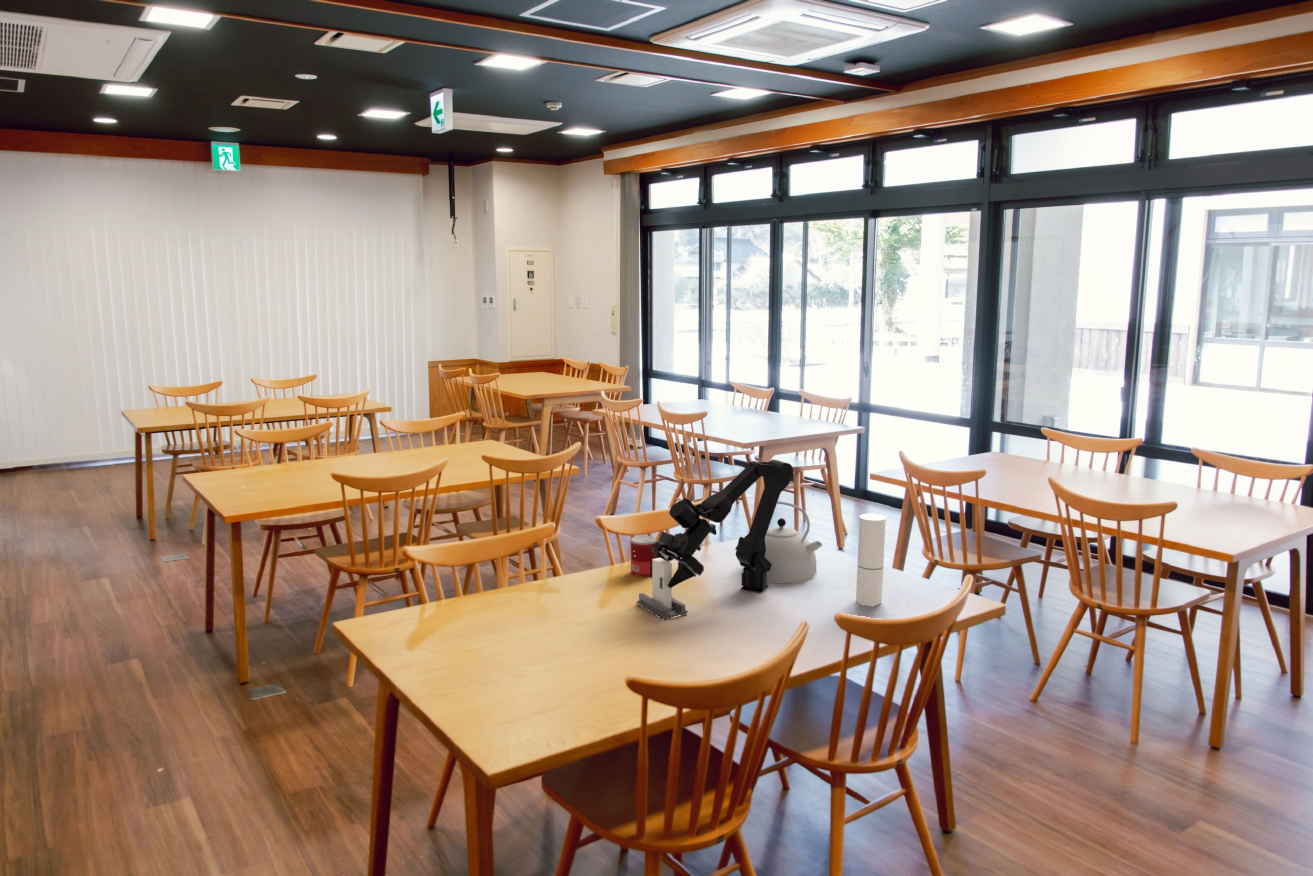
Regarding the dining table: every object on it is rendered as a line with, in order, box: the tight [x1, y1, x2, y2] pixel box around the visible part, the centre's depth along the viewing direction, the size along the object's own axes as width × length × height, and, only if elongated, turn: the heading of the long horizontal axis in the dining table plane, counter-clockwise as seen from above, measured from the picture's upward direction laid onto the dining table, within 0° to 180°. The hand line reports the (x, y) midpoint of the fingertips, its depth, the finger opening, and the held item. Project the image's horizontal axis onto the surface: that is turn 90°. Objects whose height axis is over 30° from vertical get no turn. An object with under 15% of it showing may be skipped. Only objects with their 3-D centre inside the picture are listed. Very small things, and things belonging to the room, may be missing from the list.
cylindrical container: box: [855, 513, 887, 605], centre depth 254 cm, size 7×7×25 cm
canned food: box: [630, 535, 657, 577], centre depth 280 cm, size 8×8×11 cm
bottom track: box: [636, 592, 689, 620], centre depth 250 cm, size 8×14×3 cm, turn 32°
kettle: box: [743, 500, 823, 584], centre depth 280 cm, size 25×23×22 cm
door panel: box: [651, 558, 673, 609], centre depth 249 cm, size 3×6×13 cm, turn 32°
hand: (659, 582), depth 248 cm, fingers open, 9 cm apart
